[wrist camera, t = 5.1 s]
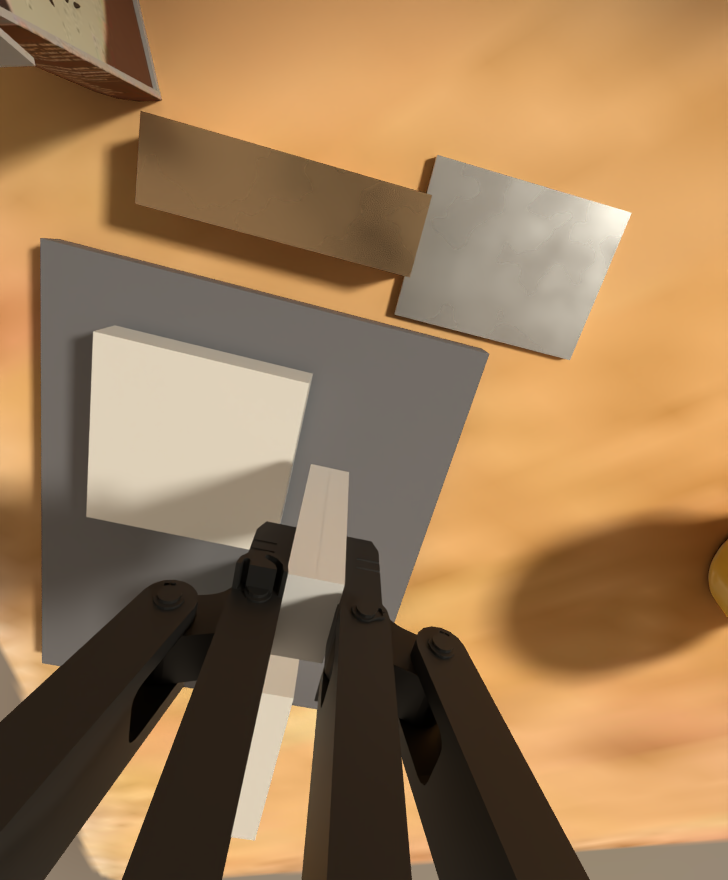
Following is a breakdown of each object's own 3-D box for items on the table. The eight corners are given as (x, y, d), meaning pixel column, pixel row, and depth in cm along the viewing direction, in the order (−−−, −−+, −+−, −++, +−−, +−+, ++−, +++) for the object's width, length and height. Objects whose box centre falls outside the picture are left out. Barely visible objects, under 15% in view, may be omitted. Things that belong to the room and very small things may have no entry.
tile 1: (313, 371, 19) (119, 324, 19) (309, 383, 18) (93, 331, 17) (279, 529, 22) (109, 494, 21) (272, 554, 20) (86, 516, 20)
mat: (59, 239, 18) (40, 237, 17) (481, 348, 20) (489, 354, 19) (55, 645, 26) (42, 663, 25) (360, 698, 28) (360, 716, 27)
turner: (158, 252, 19) (131, 251, 17) (172, 79, 17) (144, 52, 14) (565, 357, 21) (590, 369, 18) (624, 213, 19) (661, 208, 16)
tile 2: (274, 546, 23) (233, 688, 15) (314, 554, 23) (293, 698, 15) (249, 664, 25) (203, 833, 18) (284, 671, 26) (254, 840, 18)
